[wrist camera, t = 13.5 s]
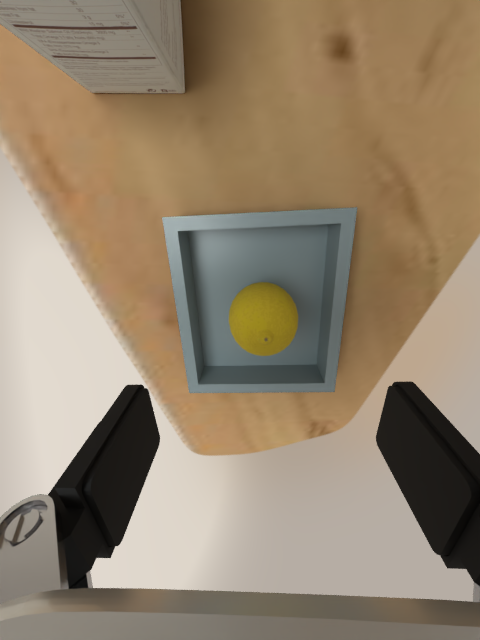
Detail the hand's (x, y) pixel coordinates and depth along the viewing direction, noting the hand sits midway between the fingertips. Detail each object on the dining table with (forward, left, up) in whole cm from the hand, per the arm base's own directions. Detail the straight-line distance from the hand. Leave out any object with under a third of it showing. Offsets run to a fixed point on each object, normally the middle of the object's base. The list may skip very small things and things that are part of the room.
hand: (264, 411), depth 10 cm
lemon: (0, 0, -15) cm, 15 cm away
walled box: (+1, 0, -16) cm, 16 cm away
